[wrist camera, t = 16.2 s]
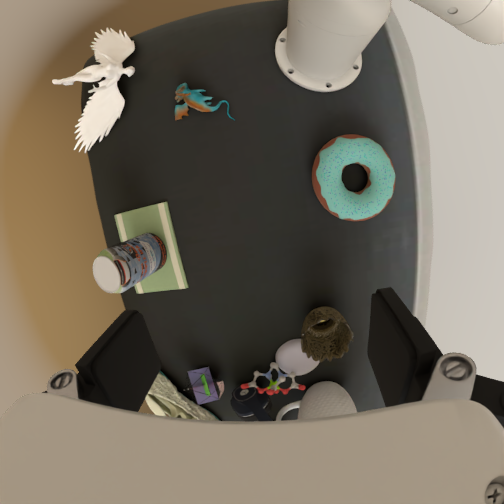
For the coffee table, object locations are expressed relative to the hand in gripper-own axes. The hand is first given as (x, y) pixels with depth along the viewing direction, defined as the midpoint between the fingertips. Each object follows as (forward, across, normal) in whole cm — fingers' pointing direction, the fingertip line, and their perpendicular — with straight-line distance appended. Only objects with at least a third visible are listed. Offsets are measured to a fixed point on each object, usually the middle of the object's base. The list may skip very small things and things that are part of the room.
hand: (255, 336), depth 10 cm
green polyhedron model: (+25, +20, +30) cm, 44 cm away
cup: (+30, -6, +18) cm, 35 cm away
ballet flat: (+29, +24, +38) cm, 54 cm away
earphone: (+28, +8, +41) cm, 50 cm away
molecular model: (+23, -2, +28) cm, 36 cm away
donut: (+30, -12, -3) cm, 32 cm away
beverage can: (+29, +20, +4) cm, 36 cm away
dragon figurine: (+30, +8, -17) cm, 35 cm away
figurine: (+21, +30, -28) cm, 46 cm away
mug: (+29, -5, +36) cm, 47 cm away
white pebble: (+27, -1, +26) cm, 38 cm away
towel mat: (+29, +20, +4) cm, 36 cm away
